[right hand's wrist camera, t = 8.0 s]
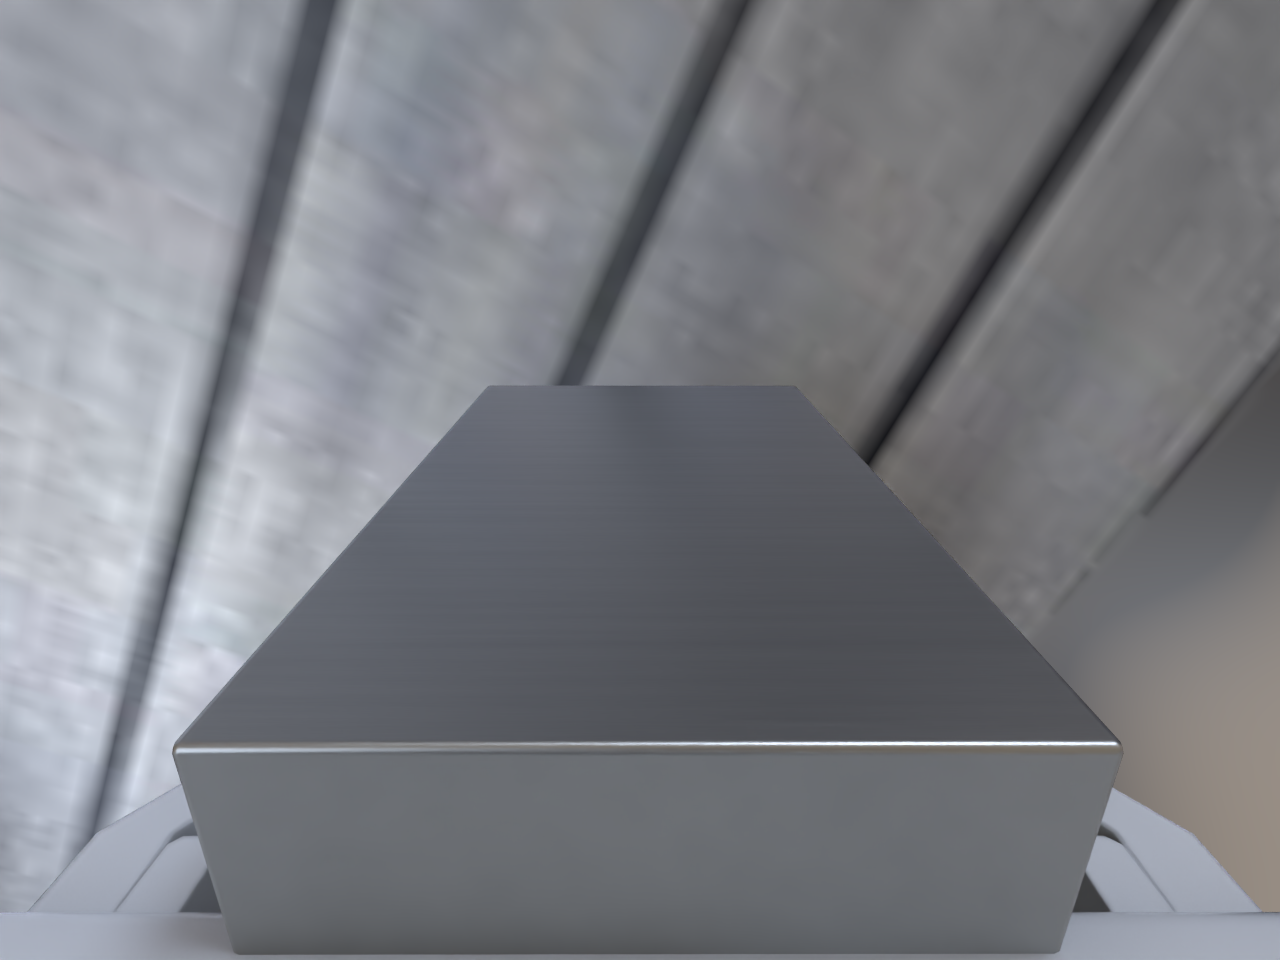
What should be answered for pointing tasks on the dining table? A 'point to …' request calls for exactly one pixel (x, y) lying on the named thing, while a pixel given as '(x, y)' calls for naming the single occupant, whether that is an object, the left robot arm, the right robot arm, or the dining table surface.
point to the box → (646, 709)
